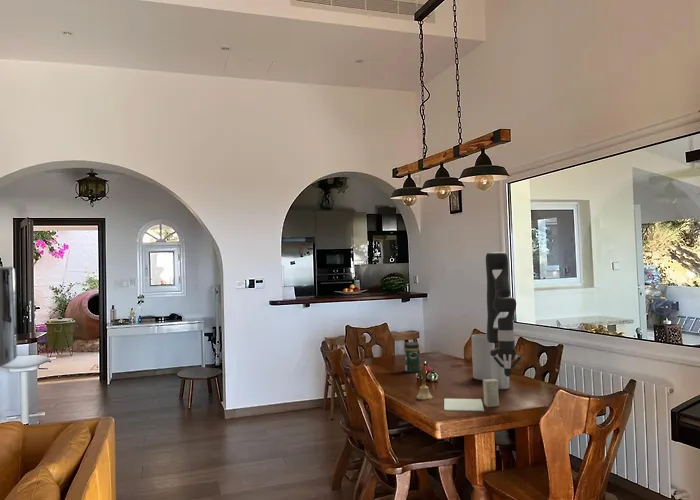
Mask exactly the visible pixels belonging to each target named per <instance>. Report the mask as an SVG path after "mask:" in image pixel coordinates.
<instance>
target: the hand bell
mask: <svg viewBox="0 0 700 500" xmlns="http://www.w3.org/2000/svg"><path fill="white" fill-rule="evenodd" d="M420 372H421V373H420V374H421V379H422V382H421V383H422V385H421V386H419V391H418V394H417V395H416V397H415V398H416V399H418V400H423V401H424V400H432V399H433V396H432V395H431V392H430V390H429V387H428V386H427V385H426V384H427V383H426V378H427V369H426V366H425V365H422V366H421V368H420Z"/></svg>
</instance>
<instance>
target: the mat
mask: <svg viewBox="0 0 700 500" xmlns="http://www.w3.org/2000/svg"><path fill="white" fill-rule="evenodd" d="M482 400H483V399H481V398H444V399H443V405H444V406H443V407H444V408H443V409H444V411H453V412H454V411H456V412H457V411H458V412H459V411H460V412H465V411H467V412H485V409H484V403H483V401H482Z"/></svg>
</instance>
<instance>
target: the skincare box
mask: <svg viewBox="0 0 700 500" xmlns="http://www.w3.org/2000/svg"><path fill="white" fill-rule="evenodd" d="M482 389H483V406H485V407H487V408H489V407H490V408H491V407H492V408H493V407H499V406H500V401H499V397H500V396H499V389H498V380H496V379H483V380H482Z"/></svg>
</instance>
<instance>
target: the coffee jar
mask: <svg viewBox="0 0 700 500" xmlns="http://www.w3.org/2000/svg"><path fill="white" fill-rule="evenodd" d="M403 346H404V347H403V348H404V352H405V363H404V370H405V372H407V373H418V372H421V363H420V356H419V352H420V345H419V343H418V342H417V341H410V342H405V343H404V345H403Z"/></svg>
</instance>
